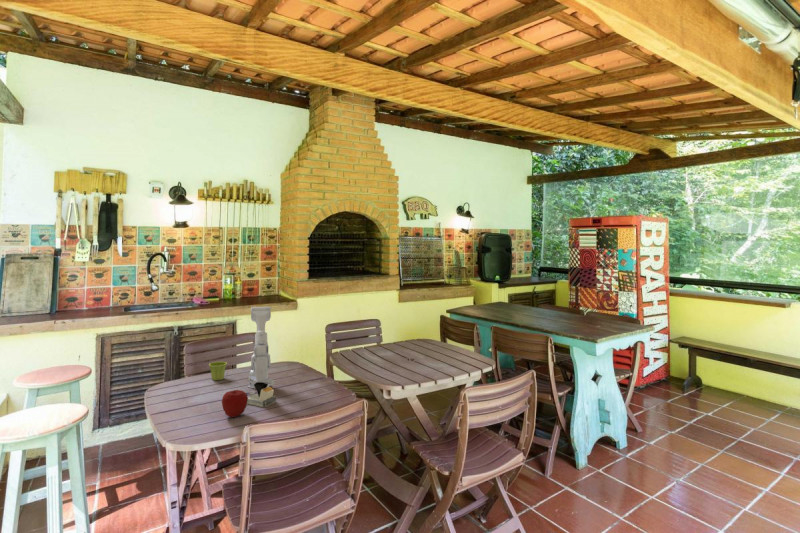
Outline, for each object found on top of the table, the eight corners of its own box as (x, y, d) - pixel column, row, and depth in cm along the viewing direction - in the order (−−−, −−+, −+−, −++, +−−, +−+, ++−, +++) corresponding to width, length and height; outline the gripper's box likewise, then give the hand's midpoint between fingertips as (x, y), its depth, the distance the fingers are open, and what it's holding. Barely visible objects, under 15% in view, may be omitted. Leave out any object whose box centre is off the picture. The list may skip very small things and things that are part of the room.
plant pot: (215, 376, 241) (214, 361, 241) (230, 376, 240) (230, 361, 239) (205, 381, 232) (205, 365, 231) (221, 382, 230) (221, 366, 230)
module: (258, 400, 198) (261, 388, 197) (265, 397, 202) (267, 386, 201) (264, 404, 197) (267, 392, 196) (271, 401, 201) (274, 389, 200)
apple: (239, 422, 178) (238, 395, 178) (216, 419, 180) (216, 393, 179) (252, 412, 189) (252, 386, 188) (230, 410, 191) (230, 385, 190)
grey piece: (239, 402, 200) (239, 396, 200) (251, 397, 208) (251, 391, 207) (264, 407, 194) (264, 401, 194) (275, 402, 202) (275, 395, 201)
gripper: (243, 369, 199) (243, 397, 199) (267, 373, 193) (267, 402, 193) (254, 366, 205) (254, 393, 206) (277, 369, 199) (277, 397, 200)
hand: (261, 397), depth 200 cm, fingers closed
